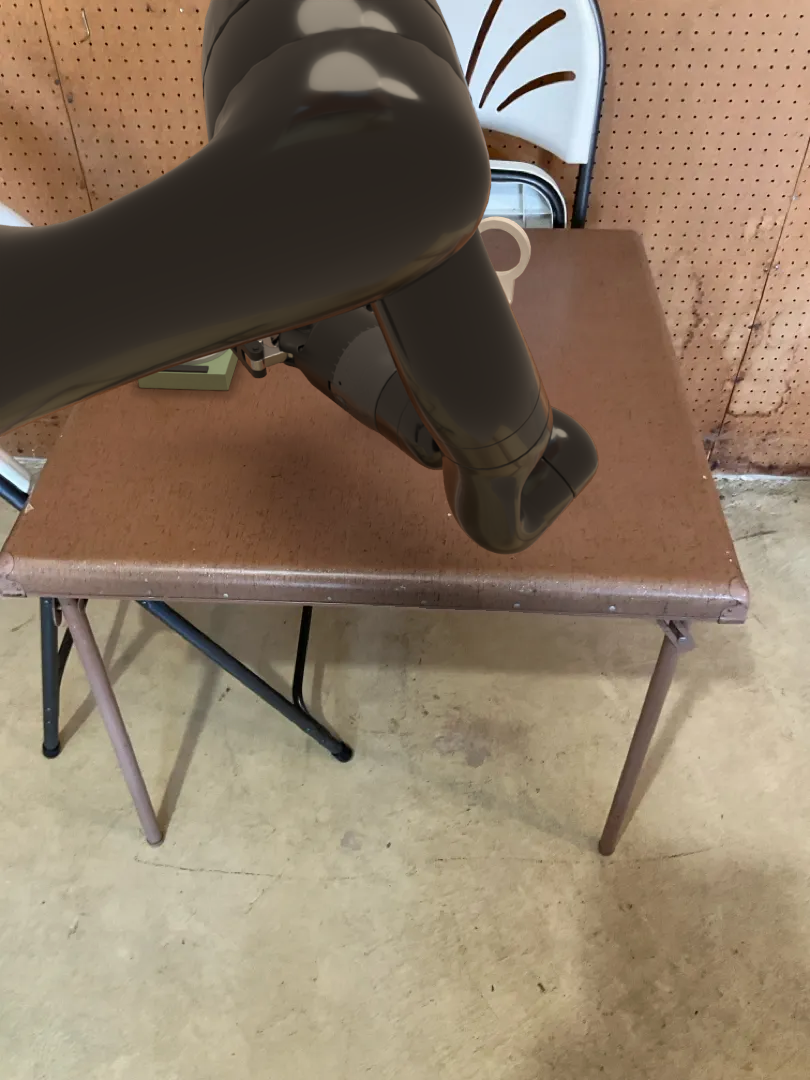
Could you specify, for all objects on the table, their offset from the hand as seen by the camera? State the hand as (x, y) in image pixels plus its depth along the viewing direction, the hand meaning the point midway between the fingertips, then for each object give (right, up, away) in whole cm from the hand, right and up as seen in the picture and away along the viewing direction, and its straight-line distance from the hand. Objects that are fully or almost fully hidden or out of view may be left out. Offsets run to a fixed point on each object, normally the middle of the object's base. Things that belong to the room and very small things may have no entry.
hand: (257, 288), depth 75 cm
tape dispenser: (+19, -7, +18) cm, 27 cm away
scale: (-11, -1, +23) cm, 26 cm away
